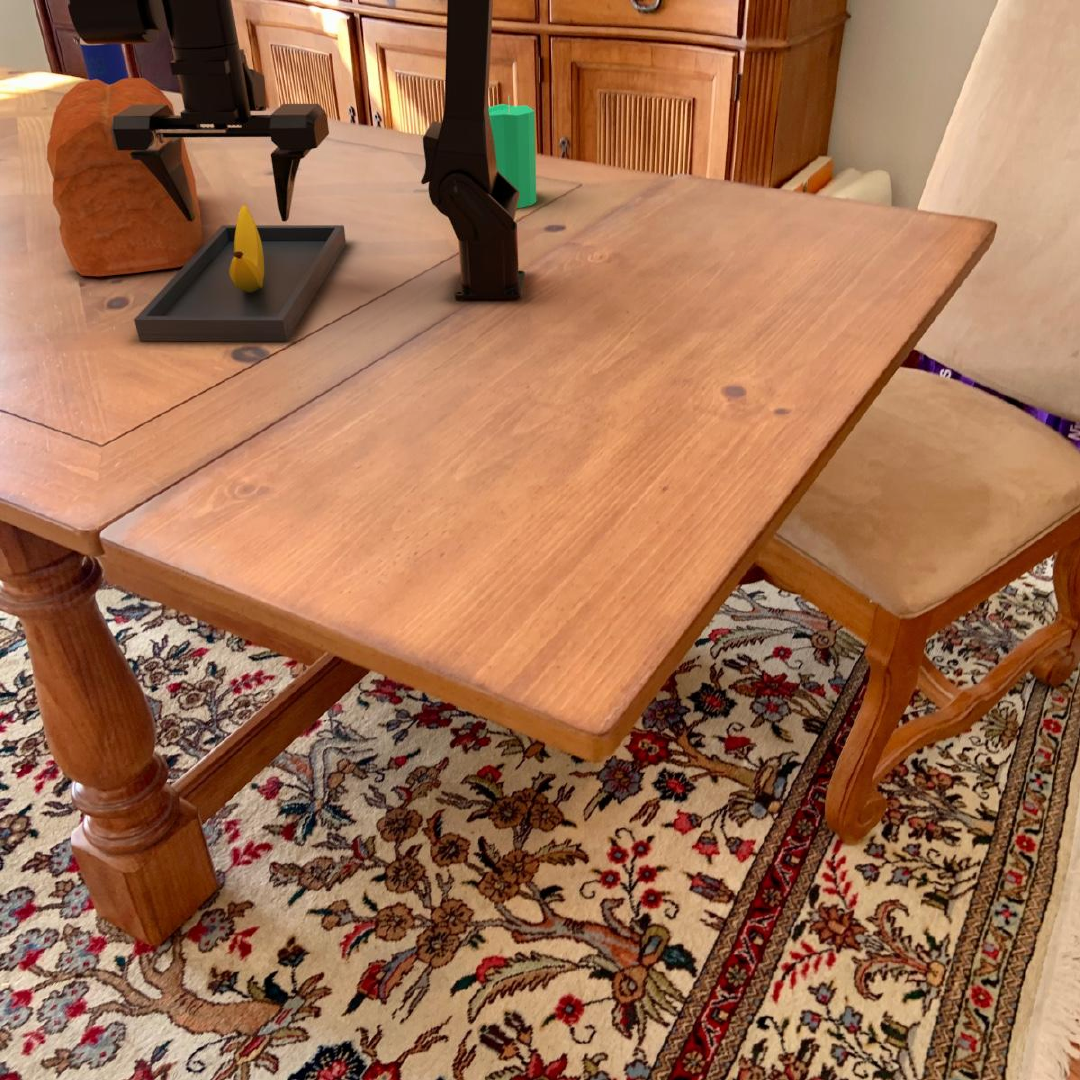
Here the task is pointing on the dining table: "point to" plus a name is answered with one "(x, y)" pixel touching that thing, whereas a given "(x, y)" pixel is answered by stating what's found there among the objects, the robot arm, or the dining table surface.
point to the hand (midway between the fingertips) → (238, 220)
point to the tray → (233, 315)
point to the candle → (516, 148)
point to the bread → (114, 187)
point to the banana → (247, 254)
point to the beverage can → (104, 62)
